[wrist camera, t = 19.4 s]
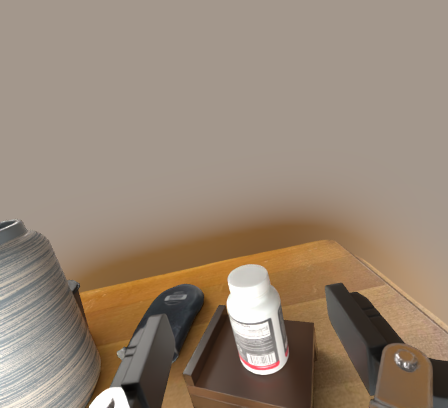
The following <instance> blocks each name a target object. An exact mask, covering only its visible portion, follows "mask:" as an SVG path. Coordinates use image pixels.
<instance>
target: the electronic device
mask: <svg viewBox="0 0 448 408" xmlns="http://www.w3.org/2000/svg"><path fill="white" fill-rule="evenodd" d="M203 302H204V294H203V292H202V291H201V290H200V289H199V288H198V287H196V286H194V285H190V284H182V285H178V286H176V287H173V288H170V289H168V290H166V291H164V292H163V293H161V294H160V295H159V296H158V297H157V298H156V299H155V300H154V301H153V303H152V304H151V306H150V307H149V308H148V310H147V311H146V313H145V314H144V316H143V318H142V319H141V321H140V323H139V325H138V326H137V328H136V330H135V332H134V334H133V336H132V338H133V337H134V335H135V334H136V333H137V332H138V331H139V330H140V329H141V328H145V325H146V323H147V321H148V318H149V317H150V316H153V315H159V314H166V315H167V318H168V321H169V324H170V326H171V329H172V332H173V335H174V339H175V352H174V356H173V360H172V363H173V362H174V361H175V360H176V359H177V358H178V355H179V352H180V350H181V348H182V345H183V343H184V341H185V339H186V336H187V334H188V332H189V330H190V327H191V325H192V323H193V320H194V318H195V316H196V315H197V313H198V312H199V311H200V309H201V307H202V306H203ZM132 338H131V340H132ZM131 340H130V342H131ZM130 342H129V344H130ZM128 346H129V345H128ZM128 346H127V347H123V348H122V349H121V350H119V351H117V356H118V357H119V358H120V359H121V360H122V359H123V358H124V355H125V353H126V351H127V349H128Z"/></svg>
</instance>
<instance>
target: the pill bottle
mask: <svg viewBox="0 0 448 408" xmlns="http://www.w3.org/2000/svg"><path fill="white" fill-rule="evenodd" d="M228 284H229V290H230V292H231V293H230V295H229V297H228V299H227V310H228V313H229V317H230V321H231V325H232V329H233V333H234V338H235V342H236V345H237V349H238V353H239V356H240V359H241V362H242V363H243V365H244V366H245V368H246V369H248V370H249V371H251V372H253V373H255V374H260V375H267V374H272V373H275V372H277V371H279V370H280V369H281V368H282V367H283V366H284V365H285V363H286V361H287V359H288V357H289V347H288V341H287V336H286V330H285V325H284V319H283V314H282V308H281V301H280V297H279V294H278V292H277V290H276V289H275V288H274V287H273V286H272V285H270V280H269V276H268V272H267V270H266V269H265V268H264V267H262V266H260V265H253V264H250V265H243V266H240V267H238V268H236V269H234V270H233V271H232V272H231V273H230V274H229V276H228Z"/></svg>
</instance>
